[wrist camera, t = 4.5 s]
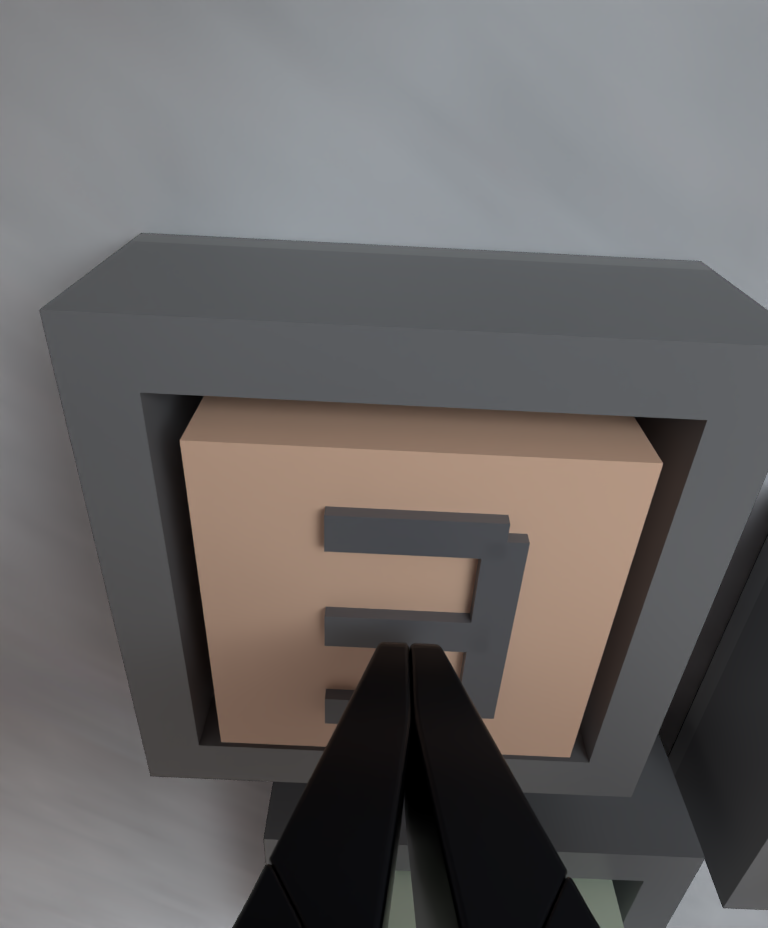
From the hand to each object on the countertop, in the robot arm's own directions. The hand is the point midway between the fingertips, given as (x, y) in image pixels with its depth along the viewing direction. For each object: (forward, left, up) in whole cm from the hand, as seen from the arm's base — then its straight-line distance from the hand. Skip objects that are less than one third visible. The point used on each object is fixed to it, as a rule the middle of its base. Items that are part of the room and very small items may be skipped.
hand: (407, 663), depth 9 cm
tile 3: (0, 0, -3) cm, 3 cm away
